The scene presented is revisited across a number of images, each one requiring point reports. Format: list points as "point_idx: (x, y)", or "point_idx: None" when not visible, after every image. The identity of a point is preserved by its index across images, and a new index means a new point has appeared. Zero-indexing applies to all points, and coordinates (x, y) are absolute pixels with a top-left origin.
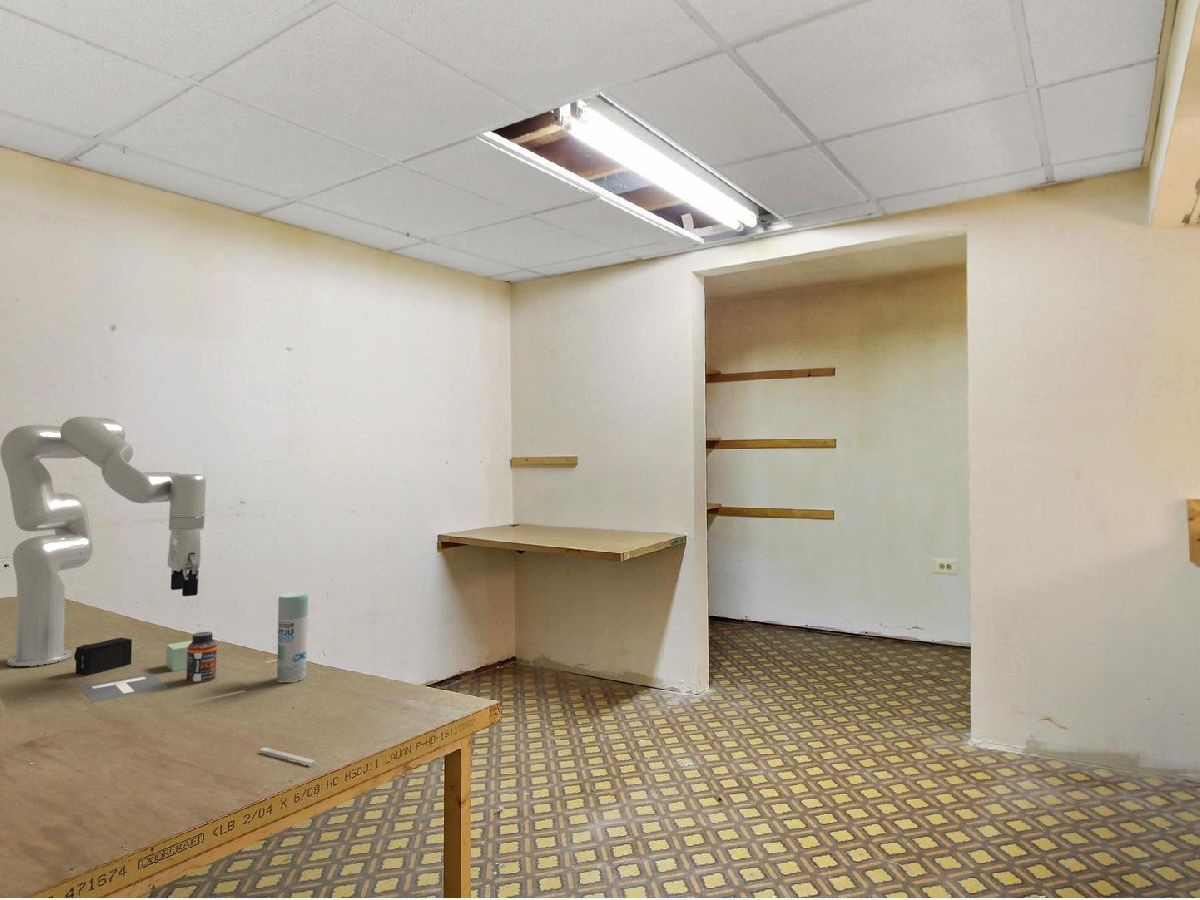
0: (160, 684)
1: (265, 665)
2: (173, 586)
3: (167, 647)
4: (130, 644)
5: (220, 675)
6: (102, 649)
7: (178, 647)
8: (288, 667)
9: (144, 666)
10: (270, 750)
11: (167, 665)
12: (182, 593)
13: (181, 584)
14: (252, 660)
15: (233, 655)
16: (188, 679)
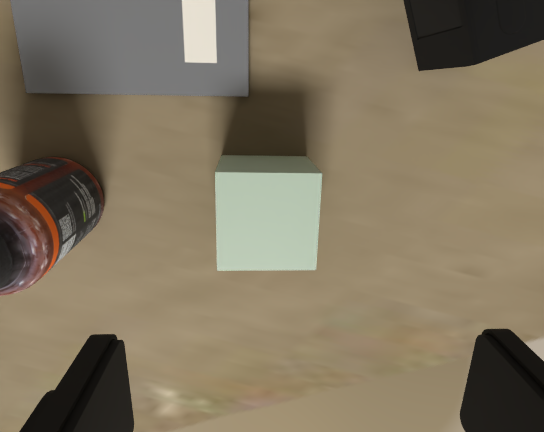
0: (77, 81)
1: (128, 376)
2: (492, 360)
3: (306, 171)
4: (461, 61)
5: (103, 259)
6: None
7: (234, 196)
8: None
9: (385, 107)
10: None
11: (290, 158)
12: (96, 346)
13: (486, 428)
14: (209, 366)
15: (305, 343)
16: (34, 160)
